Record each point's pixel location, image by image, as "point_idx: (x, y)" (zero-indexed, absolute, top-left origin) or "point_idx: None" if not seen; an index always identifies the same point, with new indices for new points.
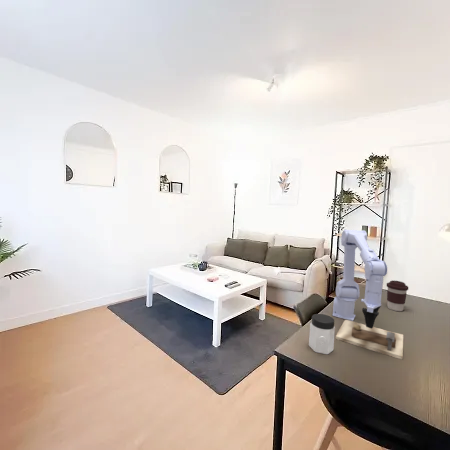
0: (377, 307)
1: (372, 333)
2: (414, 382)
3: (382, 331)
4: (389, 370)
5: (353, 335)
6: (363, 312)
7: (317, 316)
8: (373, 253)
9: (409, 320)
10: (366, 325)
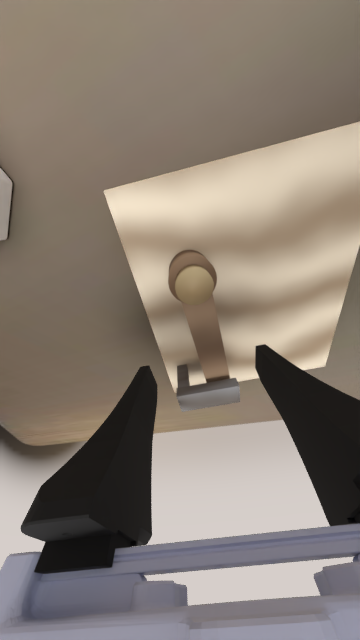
0: (320, 489)
1: (203, 341)
2: (102, 412)
3: (316, 321)
4: (95, 381)
5: (169, 266)
6: (50, 483)
7: None
8: None
9: None
10: (137, 374)
